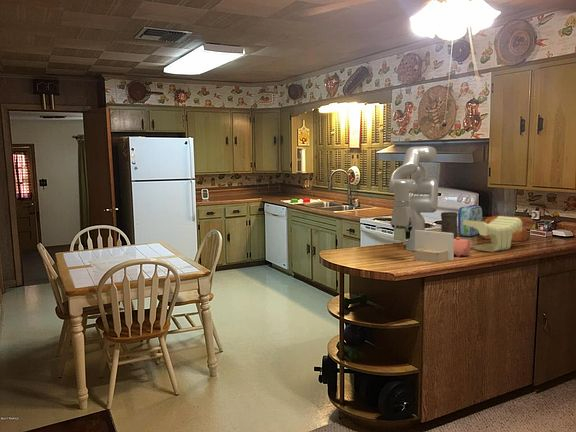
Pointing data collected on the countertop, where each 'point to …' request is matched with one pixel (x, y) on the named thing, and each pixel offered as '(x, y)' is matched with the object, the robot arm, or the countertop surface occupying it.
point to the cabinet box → (400, 233)
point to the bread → (515, 236)
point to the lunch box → (469, 214)
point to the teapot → (461, 247)
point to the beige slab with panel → (433, 246)
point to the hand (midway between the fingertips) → (402, 237)
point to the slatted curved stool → (496, 232)
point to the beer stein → (449, 223)
